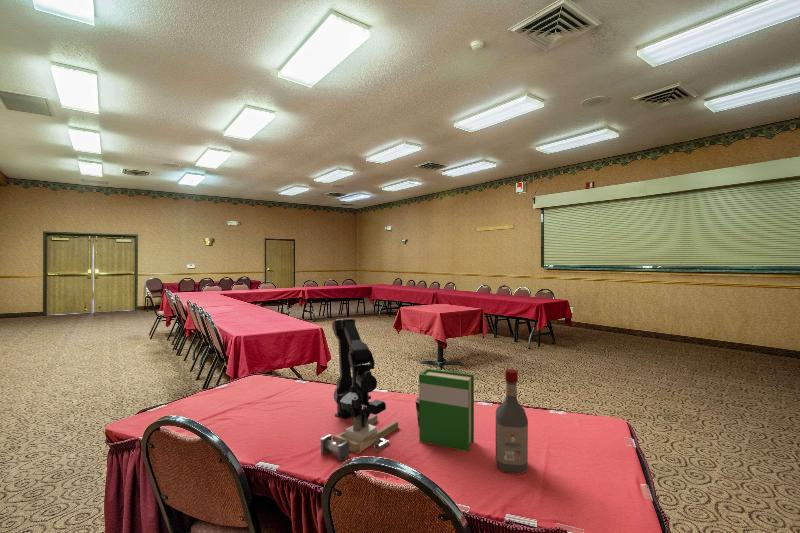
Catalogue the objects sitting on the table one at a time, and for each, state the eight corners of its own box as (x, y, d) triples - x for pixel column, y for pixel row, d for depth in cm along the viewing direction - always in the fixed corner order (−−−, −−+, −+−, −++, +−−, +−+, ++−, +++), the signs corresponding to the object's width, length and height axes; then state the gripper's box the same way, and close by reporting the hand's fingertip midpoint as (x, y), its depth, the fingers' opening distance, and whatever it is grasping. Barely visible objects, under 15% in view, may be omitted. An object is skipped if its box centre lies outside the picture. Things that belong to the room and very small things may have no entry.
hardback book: (473, 441, 137) (473, 374, 136) (468, 451, 131) (468, 381, 130) (426, 432, 145) (426, 368, 144) (419, 441, 138) (419, 374, 137)
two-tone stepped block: (345, 440, 139) (344, 416, 139) (360, 431, 146) (360, 409, 145) (362, 446, 135) (362, 422, 134) (376, 437, 141) (376, 414, 141)
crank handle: (377, 451, 132) (376, 442, 132) (368, 447, 135) (367, 438, 134) (389, 444, 136) (389, 435, 136) (380, 440, 139) (380, 432, 139)
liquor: (528, 475, 117) (529, 376, 116) (497, 472, 118) (497, 374, 117) (524, 459, 126) (524, 367, 125) (495, 456, 127) (495, 365, 126)
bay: (333, 444, 137) (332, 435, 137) (375, 420, 155) (375, 412, 155) (357, 453, 130) (357, 444, 130) (398, 427, 149) (398, 419, 149)
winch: (320, 453, 130) (320, 438, 130) (329, 448, 134) (329, 434, 133) (340, 461, 125) (340, 446, 125) (348, 456, 128) (348, 441, 128)
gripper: (325, 384, 138) (326, 427, 139) (365, 395, 127) (366, 442, 128) (347, 375, 147) (347, 416, 148) (386, 385, 136) (387, 429, 137)
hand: (361, 425), depth 140 cm, fingers closed on two-tone stepped block, 2 cm apart
